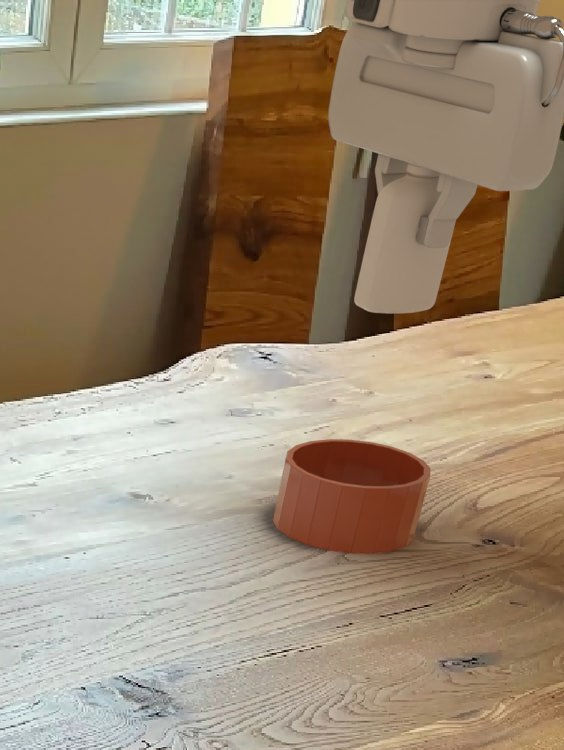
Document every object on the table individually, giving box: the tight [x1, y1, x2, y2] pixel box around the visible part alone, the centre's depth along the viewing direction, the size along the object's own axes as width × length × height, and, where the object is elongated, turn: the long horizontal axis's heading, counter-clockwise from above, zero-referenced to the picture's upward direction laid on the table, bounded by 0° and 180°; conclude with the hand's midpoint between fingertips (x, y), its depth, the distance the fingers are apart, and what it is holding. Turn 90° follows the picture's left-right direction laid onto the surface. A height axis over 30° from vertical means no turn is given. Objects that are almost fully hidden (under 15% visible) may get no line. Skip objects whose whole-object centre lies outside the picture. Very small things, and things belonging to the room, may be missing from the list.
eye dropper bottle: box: [353, 163, 457, 314], centre depth 101 cm, size 4×6×12 cm
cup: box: [272, 438, 431, 555], centre depth 114 cm, size 11×11×6 cm
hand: (410, 237), depth 102 cm, fingers closed on eye dropper bottle, 3 cm apart
